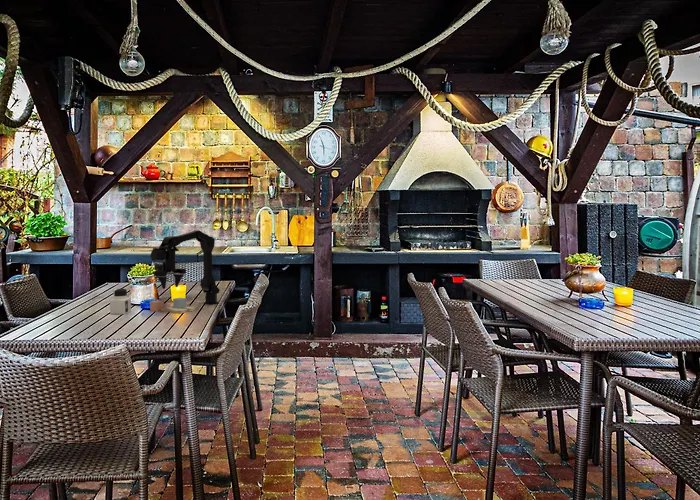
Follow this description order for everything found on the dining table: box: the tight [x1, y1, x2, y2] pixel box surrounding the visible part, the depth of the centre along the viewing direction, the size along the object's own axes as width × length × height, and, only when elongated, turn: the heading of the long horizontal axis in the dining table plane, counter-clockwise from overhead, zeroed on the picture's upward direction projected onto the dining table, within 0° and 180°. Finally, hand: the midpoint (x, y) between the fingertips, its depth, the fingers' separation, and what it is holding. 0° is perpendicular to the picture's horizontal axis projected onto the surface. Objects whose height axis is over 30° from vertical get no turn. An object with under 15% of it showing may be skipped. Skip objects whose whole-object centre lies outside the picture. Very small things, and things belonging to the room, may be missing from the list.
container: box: [109, 288, 132, 315], centre depth 292 cm, size 8×8×13 cm
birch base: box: [160, 305, 200, 315], centre depth 301 cm, size 14×14×2 cm
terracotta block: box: [149, 299, 165, 312], centre depth 300 cm, size 5×5×5 cm
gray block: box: [172, 297, 188, 309], centre depth 300 cm, size 5×5×5 cm
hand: (170, 287), depth 299 cm, fingers open, 9 cm apart
